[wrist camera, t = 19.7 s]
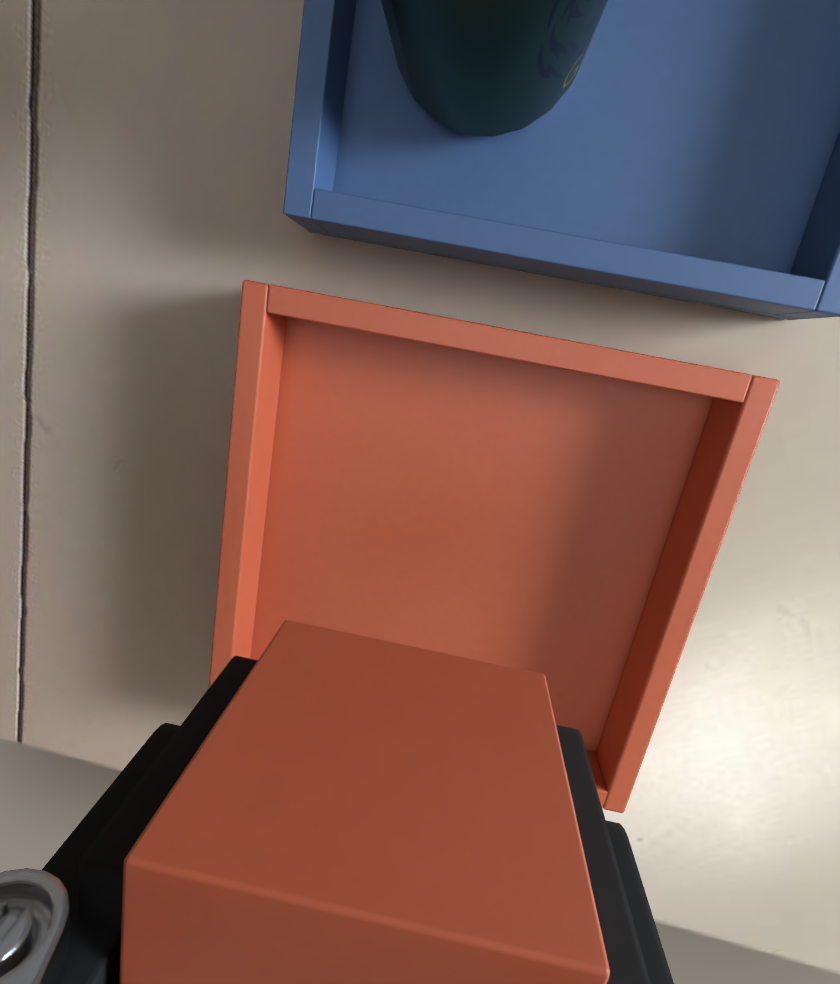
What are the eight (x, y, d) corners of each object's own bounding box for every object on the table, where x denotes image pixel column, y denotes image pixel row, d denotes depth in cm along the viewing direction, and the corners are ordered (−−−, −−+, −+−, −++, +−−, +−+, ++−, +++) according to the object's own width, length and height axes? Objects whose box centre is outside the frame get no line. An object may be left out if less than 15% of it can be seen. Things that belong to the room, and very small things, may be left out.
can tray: (308, 231, 18) (282, 213, 15) (367, -289, 14) (345, -424, 12) (790, 320, 17) (845, 316, 15) (975, -199, 14) (1088, -320, 11)
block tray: (234, 681, 23) (205, 723, 20) (272, 287, 18) (241, 279, 16) (606, 761, 22) (624, 814, 20) (737, 375, 18) (782, 380, 15)
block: (259, 822, 10) (111, 1157, 6) (285, 617, 9) (120, 860, 5) (488, 874, 10) (500, 1257, 6) (546, 673, 9) (613, 974, 5)
